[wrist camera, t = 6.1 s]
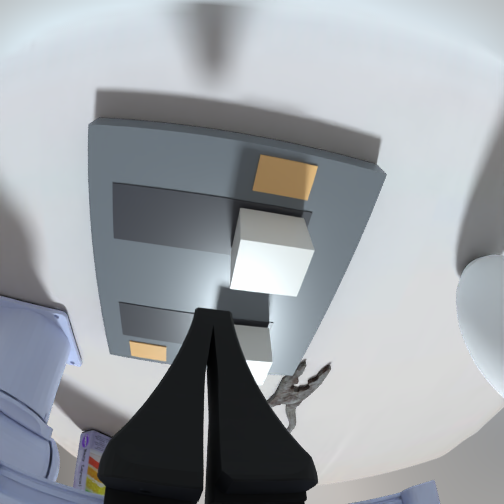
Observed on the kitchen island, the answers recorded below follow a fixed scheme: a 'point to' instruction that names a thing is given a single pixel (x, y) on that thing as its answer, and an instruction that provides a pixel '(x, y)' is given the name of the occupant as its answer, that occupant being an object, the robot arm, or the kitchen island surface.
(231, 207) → the panel
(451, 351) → the kitchen island surface
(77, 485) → the cake pan box
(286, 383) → the pliers
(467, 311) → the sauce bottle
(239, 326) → the far tab
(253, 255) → the white rectangular block
